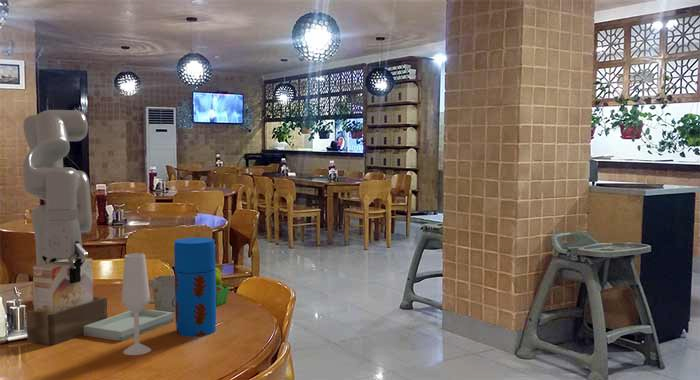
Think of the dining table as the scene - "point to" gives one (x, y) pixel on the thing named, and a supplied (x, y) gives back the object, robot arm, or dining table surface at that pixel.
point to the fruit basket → (220, 289)
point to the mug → (163, 293)
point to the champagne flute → (135, 295)
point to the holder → (64, 322)
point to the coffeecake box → (61, 286)
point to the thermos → (195, 286)
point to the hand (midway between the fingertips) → (64, 280)
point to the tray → (127, 324)
